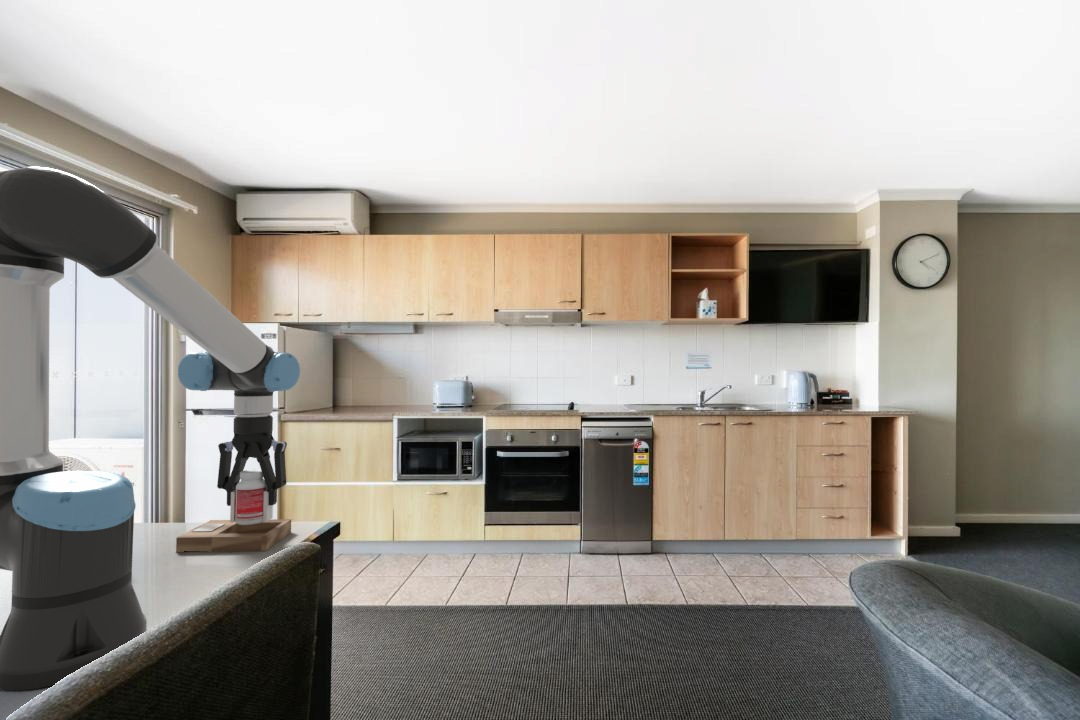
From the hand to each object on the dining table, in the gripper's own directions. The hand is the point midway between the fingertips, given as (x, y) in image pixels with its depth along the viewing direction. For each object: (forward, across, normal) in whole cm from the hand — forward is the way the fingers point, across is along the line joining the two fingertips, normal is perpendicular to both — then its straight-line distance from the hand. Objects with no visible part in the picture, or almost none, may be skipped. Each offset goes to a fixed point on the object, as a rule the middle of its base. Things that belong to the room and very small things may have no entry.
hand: (251, 519), depth 110 cm
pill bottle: (+1, 0, 0) cm, 1 cm away
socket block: (+5, +3, 0) cm, 6 cm away
